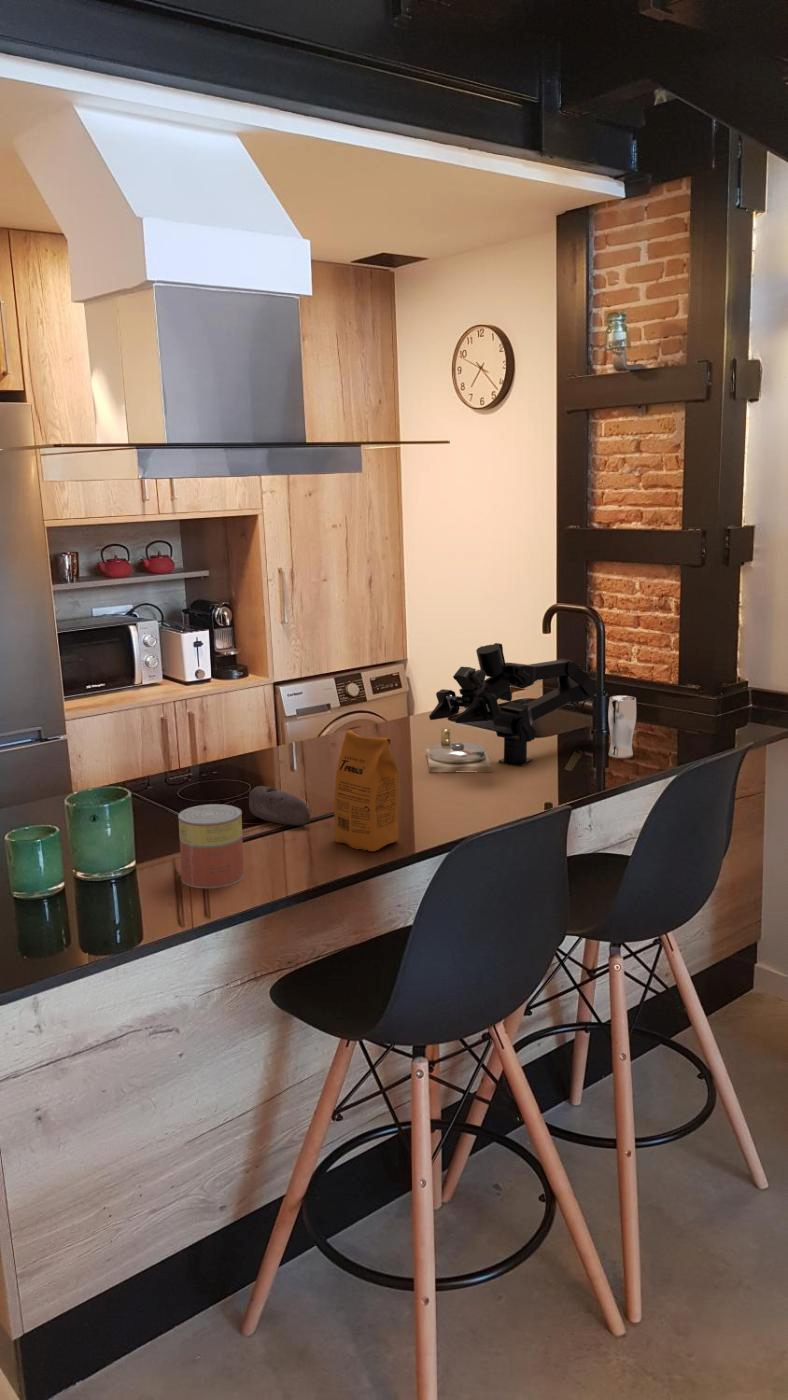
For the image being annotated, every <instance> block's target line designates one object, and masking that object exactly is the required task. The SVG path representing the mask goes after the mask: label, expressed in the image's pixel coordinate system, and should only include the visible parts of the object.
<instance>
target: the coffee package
mask: <svg viewBox="0 0 788 1400" xmlns="http://www.w3.org/2000/svg"><path fill="white" fill-rule="evenodd" d="M391 744H392V741H391V739H390V738H389V737H363V736H361V735H359V734H357V733H355V732H353V731H352V730H350V729H348V730H346V731H345V736H344V740H343V743H342V745H341V751H340V755H339V759H338V764H337V769H336V773H335V774H336V775H335V781H334V782H335V783H334V784H335V787H334V798H333V799H334V800H333V815H334V842H335V843H338V844H346V845H348V846H349V847H350V848H351V847H352V848H351V849H353V848H355V849H354V850H358V849H363V850H362V851H366V850H368V852H377V851H379V850H380V849H382V848H384V847H386V846H387V845H389V844H392V843H395V842H397V841H398V840H399V838H400V836H399V835H400V834H399V800H400V799H399V797H400V795H399V794H400V793H399V791H400V790H399V782H400V781H399V777H400V776H399V775H400V774H399V773H400V772H399V770H398V767H397V764H396V761H395V759H394V757H393V755H392V753H391V750H390V747H389V746H390V745H391ZM376 850H377V851H376Z"/></svg>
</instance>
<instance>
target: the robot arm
mask: <svg viewBox="0 0 788 1400" xmlns="http://www.w3.org/2000/svg"><path fill="white" fill-rule="evenodd" d="M475 652H476V655H477V661H478V664H479V669H476V668H473V667H471V666H460V667H459V668H458V669H457V671H456V672H455V674H454V675H453V676H452V678H453V679H454V680H455V681H456V682H457V684H458V685H459V687H460V689H459V690H458V691H459V694H460V696H458V695H456V692H455V691H454V690H452V689H440V690H439V691H437V692H436V693H435V696H436V698H437V702H438V703H437V705H436V706H435V708H434V709H432V712H431V713H430V714H429V716H428V717H429V720H430V721H434V720H442V719H447V718H448V719H449V718H453V716H456V715H457V714H458V715H457V716H456V717H454V721H455V723H456V724H463V723H474V722H489V721H493V726H494V729H495V733H496V736H497V737H498V738H499V737H500V738H503V758H501V759H499V760H498V761H497V762H499V764H503V763H504V764H505V765H510V764H512V766H516V765H518V767H522V765H523V766H524V764H525V765H526V763H527V764H528V763H531V762H533V758H529V757H528V756H527V755H528V743H529V742H532V741H534V740H535V738H536V737H535V736H536V734H537V731H536V729H534V727H533V726H532V725H533V723H534V722H535V721H537V720H539V719H542V718H543V717H544V716H546V715H549V714H550V713H552V712H554V711H557V710H558V709H560V708H562V707H564V706H566V705H568V704H570V703H571V704H572V703H573V704H574V703H581V702H582V703H583V702H587V701H589V700H591V699H592V698H594V697H595V694H596V692H597V687H596V684H595V681H594V679H593V678H591V676H590V675H589V674H588V673H586V672H585V671H583V669H581V668H580V667H579V666H578V665H577V663H576V662H575V661H573V660H570V659H564V658H559V659H556V660H550V661H543V662H537V663H530V664H527V663H525V664H524V663H519V662H518V663H516V662H506V660H505V655H504V648H503V643H497V642H494V643H493V644H488V645H482V646H479V647H478V648H477V649H476V651H475ZM486 677H487V678H486ZM555 678H557V683H558V687H557V688H555V689H553V690H551V691H549V692H547V693H545V694H543V695H541V696H540V697H537V698H535V699H534V700H531V701H529V702H527V703H525V704H522V703H519V702H515V701H512V699H513V691H512V688H518V689H526V688H528V687H530V686H533V685H534V683H535V682H537V681H541V680H548V679H555ZM511 687H512V688H511ZM499 700H501V701H507V702H508V703H507V704H506V705H504V706H499V702H498V701H499ZM461 707H463V708H464V709H465V710H463V711H462V712H461V713H459V712H460V709H461ZM504 764H503V765H504Z"/></svg>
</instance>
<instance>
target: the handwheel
mask: <svg viewBox="0 0 788 1400" xmlns="http://www.w3.org/2000/svg"><path fill="white" fill-rule="evenodd" d="M429 749H430V758H432V759H433V760H436V761H440V762H445V763H471V762H477V761H481V760H483V759H485V758H486V754H487V747H485V746H483V745H481V744H477V743H473V742H464V741H463V742H460V741H453V742H452V741H451V728H449V727H443V728H441V729H440V743H437V744H434V745H432V746H431V747H429Z"/></svg>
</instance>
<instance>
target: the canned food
mask: <svg viewBox="0 0 788 1400" xmlns="http://www.w3.org/2000/svg"><path fill="white" fill-rule="evenodd" d="M242 815H243V811H242V809H241V808H239V807H237V806H234V805H230V804H221V803H214V804H213V803H209V804H200V805H195V806H190V807H187V808H185V809H182V810H180V812H179V813H178V814H177V818H178V830H179V831H178V832H179V833H178V834H179V850H180V851H179V852H180V854H179V855H180V866H181V867H180V868H181V869H180V871H181V876H180V880H181V882H182V884H184V885H185V886H188V887H192V888H194V889H219V888H225V887H229V886H232V885H235V884H238V883H239V882H241V881H242V880H243V879H244V877H245V869H244V847H243V825H242V824H243V819H242Z"/></svg>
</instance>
